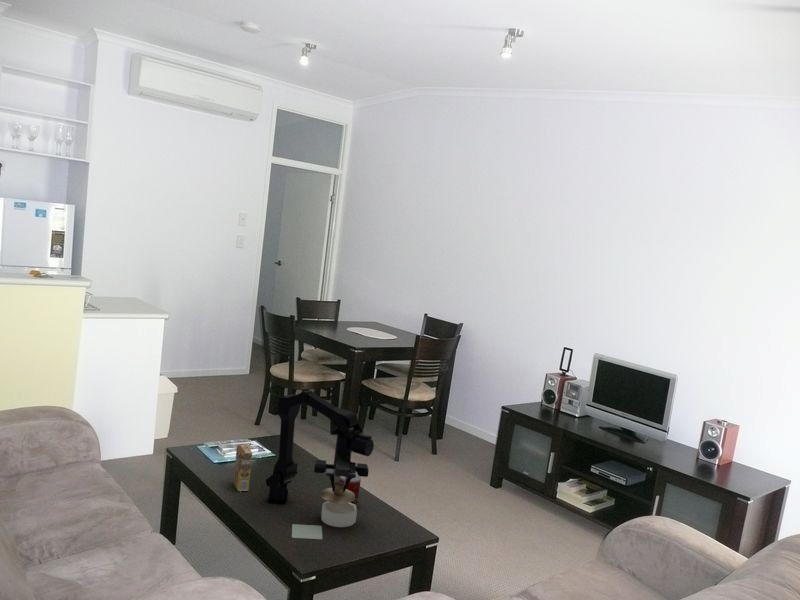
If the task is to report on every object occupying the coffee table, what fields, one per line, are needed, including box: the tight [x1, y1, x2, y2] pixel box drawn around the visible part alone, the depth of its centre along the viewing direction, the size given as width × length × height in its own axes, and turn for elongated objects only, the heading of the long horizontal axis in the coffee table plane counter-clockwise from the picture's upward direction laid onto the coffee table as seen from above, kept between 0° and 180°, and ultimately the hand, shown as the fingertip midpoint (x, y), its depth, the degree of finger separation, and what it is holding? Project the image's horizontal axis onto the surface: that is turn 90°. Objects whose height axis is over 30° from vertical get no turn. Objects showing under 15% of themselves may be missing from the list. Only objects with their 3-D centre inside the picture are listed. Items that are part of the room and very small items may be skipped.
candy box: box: [233, 444, 253, 493], centre depth 258 cm, size 9×4×15 cm, turn 27°
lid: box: [320, 480, 355, 503], centre depth 238 cm, size 12×12×5 cm
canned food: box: [338, 474, 362, 508], centre depth 254 cm, size 8×8×11 cm
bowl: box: [320, 501, 358, 528], centre depth 240 cm, size 12×12×5 cm
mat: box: [291, 523, 323, 540], centre depth 228 cm, size 10×10×1 cm
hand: (338, 491), depth 238 cm, fingers closed on lid, 3 cm apart
